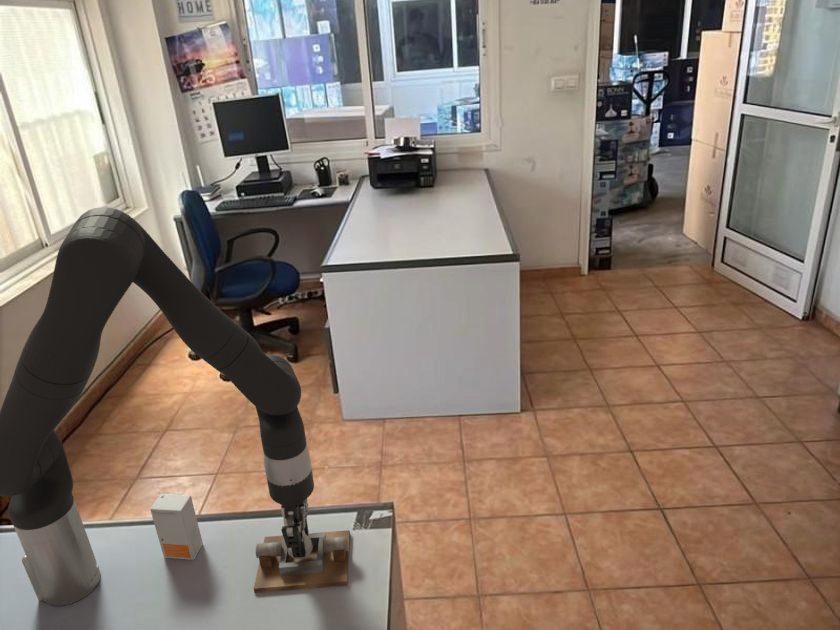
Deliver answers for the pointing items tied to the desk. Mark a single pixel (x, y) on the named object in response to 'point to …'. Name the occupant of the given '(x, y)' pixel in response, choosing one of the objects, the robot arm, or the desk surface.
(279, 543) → the frame on base plate
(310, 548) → the rook chess piece
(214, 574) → the desk surface
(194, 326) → the robot arm
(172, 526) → the skincare box
